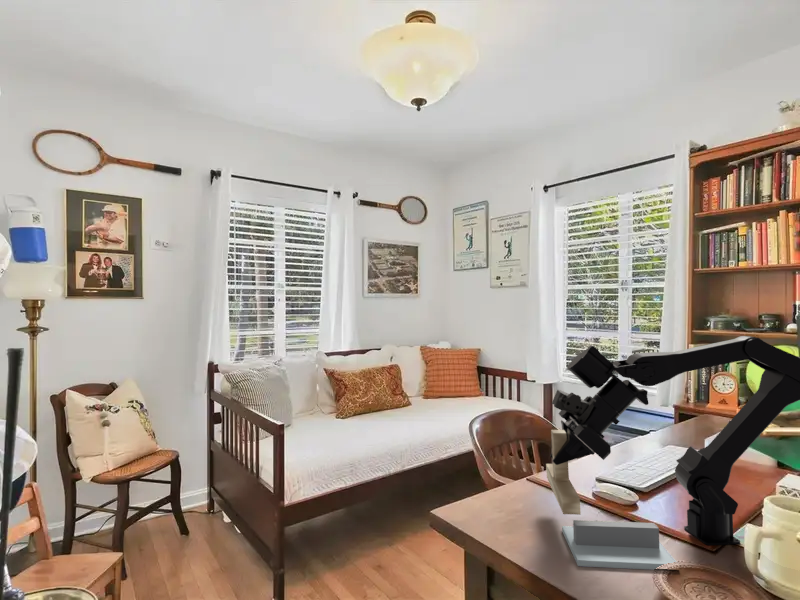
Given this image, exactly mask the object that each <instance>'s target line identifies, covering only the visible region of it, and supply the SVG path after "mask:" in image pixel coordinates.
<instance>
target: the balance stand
mask: <svg viewBox="0 0 800 600" xmlns="http://www.w3.org/2000/svg"><path fill="white" fill-rule="evenodd" d="M572 523H573V524H572V525H573V526H571V525H570V526H568V525H567V526H566V525H562V526H561V531H562V534H563V536H564V538H565V541H566V543H567V544H568V547H569V549H570V551H571V554H572V556H573V558H574V561H575V563H576V565H577V567H586V568H587V567H589V568H610V569H611V568H612V569H629V570H633V569H634V570H650V571H651V570H652V571H653V570H654V569H656V568H657V567H659V566H661V565H663V564H667V563H673V562H677V560H676V559H675V558H674V556H672V554H671V553H670V552H669V551H668V549H666V547H665V545H663V544H662V543H661V541H660V528H659V526H658V525H657V524H655V523H654V522H638V521H637V522H635V521H607V520H605V521H603V520H581V519H580V520H578V519H577V520H576V519H572Z"/></svg>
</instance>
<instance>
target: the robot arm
mask: <svg viewBox="0 0 800 600" xmlns="http://www.w3.org/2000/svg"><path fill="white" fill-rule="evenodd" d="M745 360H746V361H749V362H750V363H752V364H754V365H755V366H756V367H759V368H760V369H762V370H764V371H763V372H762V375H761V377H760V382H759V386H758V389H757V391H755V392H754V394H753V395H752V396H751V397H750V398H749V400H748V401H747V402H746V403H745V404H744V405H743V406H742V407H741V409H740V410H739V411H738V412H736V414H735V415H734V416H733V417H732V419H730V421H729V422H728V423H727V424H726V425H725V426H724V428H722V430H721V431H720V432H719V433H718V434H717V435H716V437H714V438H713V440H712V441H711V442H710V443H709V444H708V445H706V446H705V447H703V448H701V449H699V450H697V449H696V448H695V447H693V446H689V447H688V448H687V449H686V451H685V453H684V454H683V455H682V456H681V457H680V458H678V459H676V460H675V461H676V462H677V465H676V467H675V468H674V469H675V470H674V474H675V478H676V480H677V482H678V483H679V484H680V485H681V486H682V487H683V488H684V489H685V490H686V491H687V493H688V495H690V496H691V498H692V499H691V500H688V508H687V510H686V514H687V515H686V518H687V522H686V523H687V525H684V526H683V529H684V530H685V531H686V532H688V533H689V534H690V535H691V536H693V537H694V538H695V539H697V540H698V541H700V542H701V543H702V544H705V545H706V546H726V545H741V540H739V539H738V538H737V537H735V536H734V516H733V515H735V514H736V512H737V509H738V506H739V503H738V502H737V501H736V500H735V499H734V498H733V497H732V496H730V495H729V493H727V492H726V491H725V488H726V487H727V485H728V483H729V482H730V481H729V480H730V476H731V473H732V468H733V466H734V464H735V463H736V461H737V460H738V459H740V457H741V456H742V455H743V454H745V452H746V451H747V450H748V449H749V448H750V447H751V445H753V443H754V442H755V441H756V440H757V439H758V438H759V436H761V435H762V433H763V432H764V431H765V430H766V429H767V428H768V427H769V425H771V424H772V422H773V421H774V420H776V418H777V417H778V416H779V415H780V413H782V412H783V410H784V409H785V408H786V407H788V406H790V405H792V404H794V403H797V402H799V401H800V356H798V355H795V354H792V353H790V352H788V351H786V350H783V349H781V348H778V347H776V346H774V345H772V344H770V343H767V342H766V341H764V340H763V339H761V338H759V337H756V336H749V335H741V336H738V337H736V338H732V339H729V340H724V341H718V342H714V343H709V344H705V345H700V346H695V347H690V348H685V349H681V350H680V349H679V350H675V351H668V352H667V351H662V352H661V351H657V352H656V351H651V352H650V351H649V352H636V353H633V354H632V353H631V354H630V356H627V358H626V359H622V360H615V361H610V360H609V359H607V358H606V357H605V356H604V355H603V354H602V353H601V352H600V351H599V349H597V348H596V347H595V346H594V345H593V344H591V345H589V346H588V348H586V349H584V350H583V351H582V352H580V353H579V354H577V355H576V356H575V357H574V358H572V360H571V361H570V363H569V364H568V365H567V368H566V369H567V370H568V371H569V372H570V373H572V374H573V375H574V376H575V377H577V379H579V380H580V381H581V382H582V383H583V384H584V385H585V386H586V387H587V388H589V389H592V388H593V387H595V388H597V389H600V388H601V387H602V388H601V389H600V390H598V391H597V392H596V394H594V396H590V395H589V396H586V397H585V398H584V399H582V398H581V396H580V395H579V394H575V393H574V392H570V393H568V392H565V391H564V390H561V389H556V393H555V395H554V396H553V399H552V402H551V405H553V407H554V408H556V409H557V410H560V411H559V413H558V415H559V417H561V418H562V419H564V420H565V421H563V420H562V419H561V421H560V423H561V430H564V431H565V432H566V436H567V441H566V442H565V443H564V445H563V446H562V448H561V449H560V450H559V452H558V453H557V454H556V456H555V458H554V459H553V456H552V452H551V453H550V458H551V459H552V463H553V462H554V463H555V464H556V465H559V464H562V463H565V462H567V461H568V462H570V461H572V460H577V459H579V458H583V457H586V456H590V455H595V454H596V455H597V456H598V457H599V458H600V459H601V460H603V461H604V460H605V459H606V458H607V457H608V456H609V455H610V454H612V451H611V444H609V443H608V441H606V440H605V439H604V438H605V435H603V433H604V432H605V431H607V429H609V427H611V425H612V424H614V425H615V426H616V425H618V424H619V423H620V420H619V417H620V416H621V415H622V414H623V413H624V412H625V411H626V410H627V409H628V408H629V407H630V406H631V405H632V404H633V403H634V402H635V401H639V402H640V403H641V404H643V405H645V406H648V405H649V400H648V398H649V397H648V393H649V392H648V390H647V389H644V388H642V389H641V388H640V389H639V388H638V387H637V386H636V385H634V383H633V382H631V381H630V379H631V380H632V381H634V382H635V383H637V384H639V385H641V386H644V387H653V386H657V385H660V384H661V383H664V382H667V381H670V380H672V379H674V378H675V377H677V376H679V375H681V374H684V373H687V372H692V371H697V370H702V369H707V368H711V367H716V366H721V365H727V364H731V363H737V362H740V361H745ZM613 372H615V373H616V374H617V375H620V376H621V377H623V378H626V379H624V380H623V381H622V379H620V378H619V377H618V376H616V375H615V374H614V373H613ZM628 379H629V380H628Z"/></svg>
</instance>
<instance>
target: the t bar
mask: <svg viewBox="0 0 800 600" xmlns="http://www.w3.org/2000/svg"><path fill="white" fill-rule="evenodd" d="M550 435H551V437H550V438H551V453H552V456H553V459H554V458H555V456H556V454H557V453H558V452H559V450H560V449H561V448H562V446H563V445H564V443H565V442H566V441H567V436H566V432H565V431H564V430H562V429H551V430H550ZM553 459H552V460H553ZM545 467H546V469H545V470H546V478H547V481H548V483H549V485H550V487H551V490H552V492H553V495H554V497H555V499H556V501H557V503H558V506H559V508H560V510H561V512H562V514H563V515H581V513H582V511H581V498H580V496H579V494H578V493H577V491H576V488H575V487H574V485H573V484H572V482H571V480H570V475H569V474H570V473H569V461H567V462H565V463H562V464H559V465H556V464H555V463H554V462H553V461H552V463H545Z"/></svg>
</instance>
